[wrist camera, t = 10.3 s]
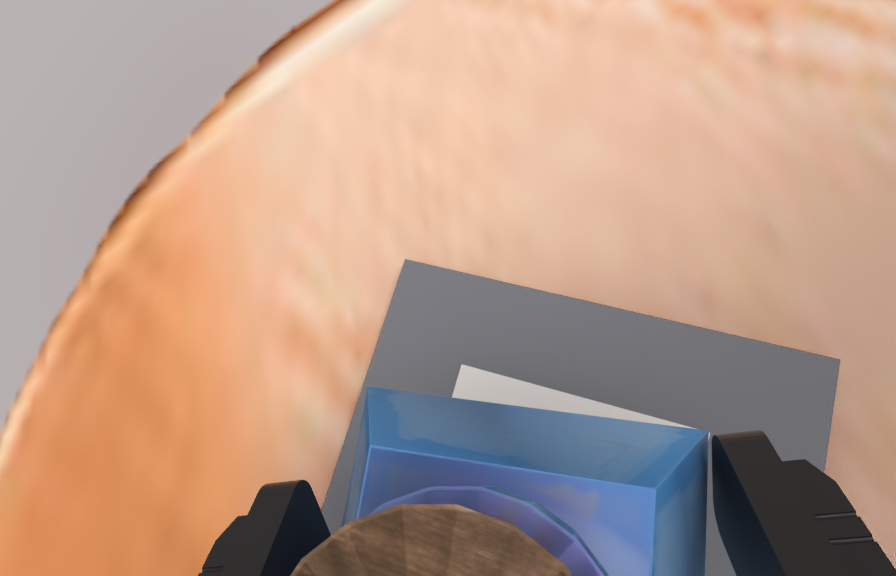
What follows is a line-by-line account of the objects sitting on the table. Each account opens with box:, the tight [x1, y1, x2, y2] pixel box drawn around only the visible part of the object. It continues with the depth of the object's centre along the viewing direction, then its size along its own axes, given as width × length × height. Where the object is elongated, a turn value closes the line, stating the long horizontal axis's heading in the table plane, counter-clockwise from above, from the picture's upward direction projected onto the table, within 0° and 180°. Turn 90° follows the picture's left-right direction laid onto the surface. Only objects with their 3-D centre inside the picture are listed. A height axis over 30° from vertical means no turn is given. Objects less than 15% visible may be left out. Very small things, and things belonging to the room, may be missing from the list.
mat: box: [321, 259, 840, 576], centre depth 23 cm, size 18×18×1 cm
